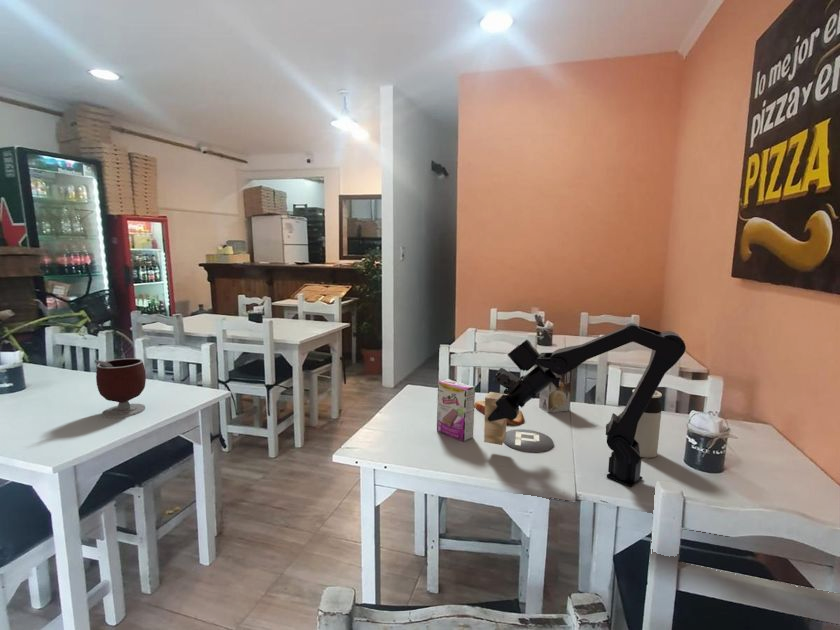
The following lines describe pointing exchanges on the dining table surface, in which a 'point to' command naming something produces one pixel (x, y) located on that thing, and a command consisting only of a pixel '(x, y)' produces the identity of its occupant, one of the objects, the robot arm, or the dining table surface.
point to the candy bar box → (455, 409)
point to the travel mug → (649, 427)
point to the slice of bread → (517, 421)
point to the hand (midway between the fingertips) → (490, 416)
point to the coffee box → (557, 395)
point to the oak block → (493, 429)
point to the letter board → (528, 440)
